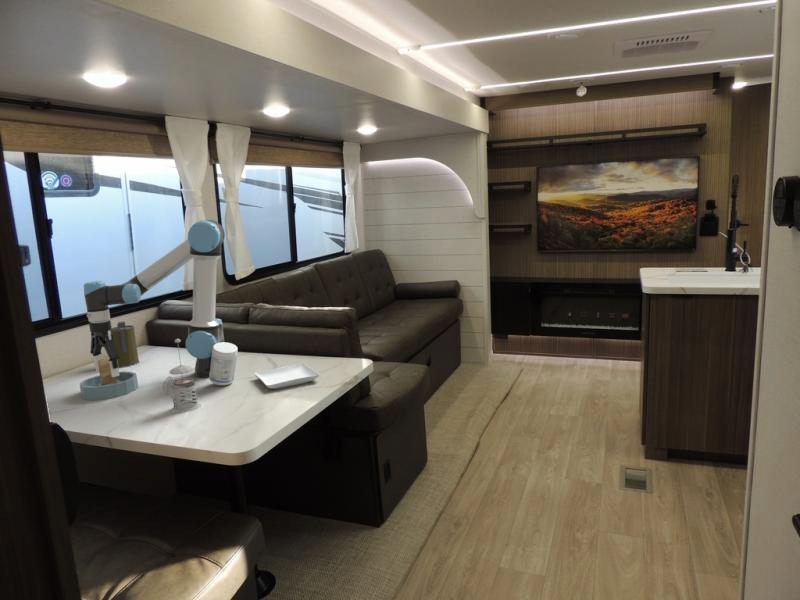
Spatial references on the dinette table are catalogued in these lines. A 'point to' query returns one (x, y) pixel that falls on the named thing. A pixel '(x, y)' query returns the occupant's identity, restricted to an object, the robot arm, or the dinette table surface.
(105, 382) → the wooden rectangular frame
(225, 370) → the supplement tub
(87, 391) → the shallow blue tray
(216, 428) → the dinette table surface
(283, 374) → the salad plate
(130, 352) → the canister
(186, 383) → the french press
